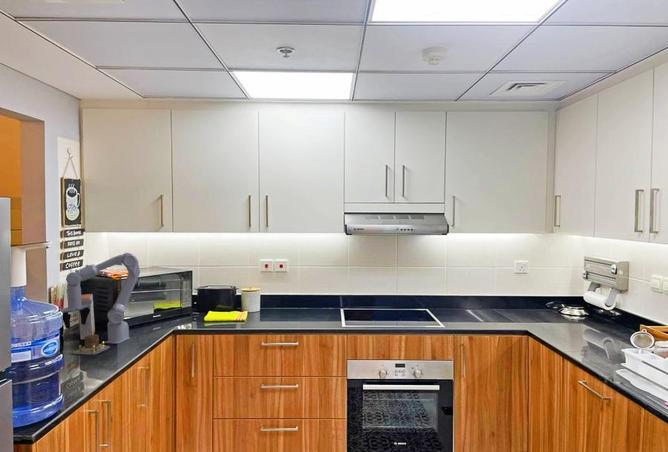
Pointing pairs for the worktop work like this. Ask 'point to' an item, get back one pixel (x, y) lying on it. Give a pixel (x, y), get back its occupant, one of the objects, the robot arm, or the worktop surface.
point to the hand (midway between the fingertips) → (75, 326)
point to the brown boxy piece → (91, 343)
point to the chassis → (91, 351)
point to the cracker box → (89, 326)
